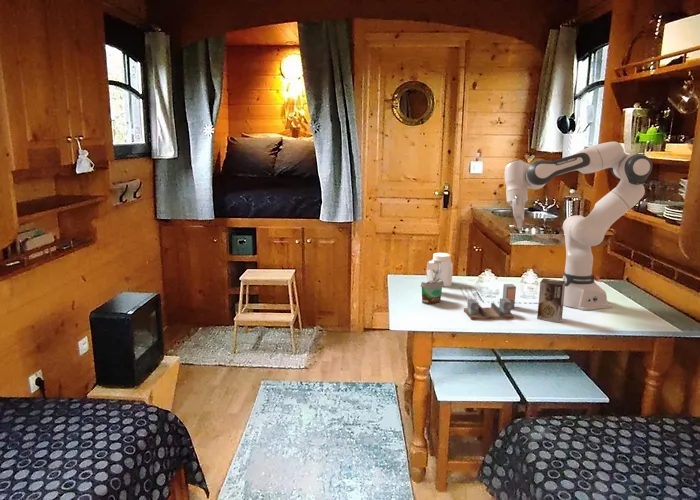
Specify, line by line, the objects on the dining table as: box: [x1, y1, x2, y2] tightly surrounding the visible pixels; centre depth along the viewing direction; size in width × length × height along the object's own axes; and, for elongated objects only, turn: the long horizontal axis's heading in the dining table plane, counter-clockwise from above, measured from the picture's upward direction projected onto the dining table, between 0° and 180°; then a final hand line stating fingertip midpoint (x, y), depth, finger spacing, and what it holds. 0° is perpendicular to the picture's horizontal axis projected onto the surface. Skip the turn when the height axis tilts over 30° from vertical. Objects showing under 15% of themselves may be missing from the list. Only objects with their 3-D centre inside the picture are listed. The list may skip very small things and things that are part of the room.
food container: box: [420, 278, 445, 305], centre depth 244 cm, size 12×6×10 cm, turn 129°
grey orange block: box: [502, 283, 517, 310], centre depth 239 cm, size 4×4×10 cm
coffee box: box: [536, 278, 565, 323], centre depth 225 cm, size 9×6×16 cm
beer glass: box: [426, 259, 442, 282], centre depth 258 cm, size 7×7×15 cm
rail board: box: [463, 298, 515, 321], centre depth 229 cm, size 18×11×6 cm, turn 95°
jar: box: [431, 252, 454, 287], centre depth 272 cm, size 12×10×15 cm
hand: (520, 229), depth 235 cm, fingers open, 8 cm apart
